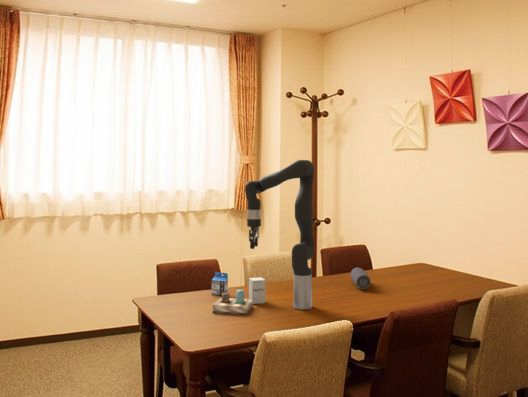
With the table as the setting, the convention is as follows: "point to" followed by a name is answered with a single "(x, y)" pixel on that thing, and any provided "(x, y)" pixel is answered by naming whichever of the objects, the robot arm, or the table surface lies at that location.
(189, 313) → the table surface
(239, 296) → the teal pin
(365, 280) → the bluetooth speaker
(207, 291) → the table surface
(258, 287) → the supplement box
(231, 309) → the peg board
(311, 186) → the robot arm
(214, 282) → the label tape box
